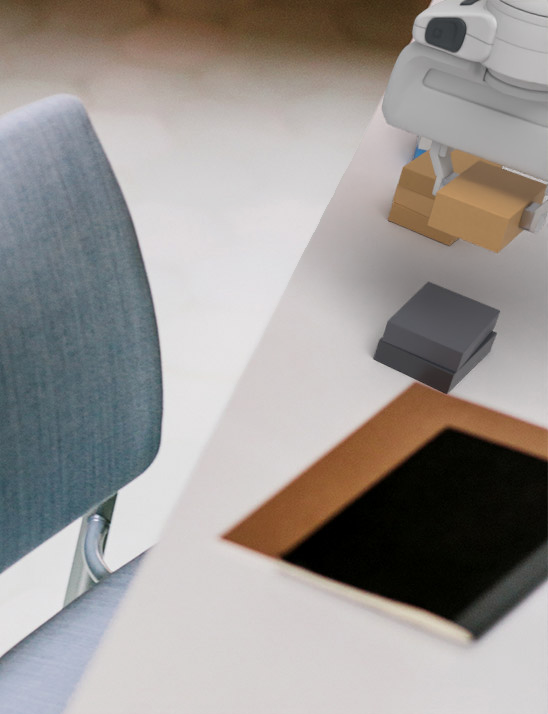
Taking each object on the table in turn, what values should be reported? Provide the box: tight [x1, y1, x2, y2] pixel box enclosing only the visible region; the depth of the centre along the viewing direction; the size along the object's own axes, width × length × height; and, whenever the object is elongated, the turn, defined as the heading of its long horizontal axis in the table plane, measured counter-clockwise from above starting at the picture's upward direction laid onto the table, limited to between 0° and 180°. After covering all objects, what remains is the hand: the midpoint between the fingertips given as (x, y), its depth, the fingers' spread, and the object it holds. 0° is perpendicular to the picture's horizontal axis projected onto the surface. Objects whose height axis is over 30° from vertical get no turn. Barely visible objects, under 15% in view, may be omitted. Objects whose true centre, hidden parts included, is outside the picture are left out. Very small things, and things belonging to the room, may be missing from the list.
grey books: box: [373, 281, 501, 395], centre depth 102 cm, size 7×9×4 cm
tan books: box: [387, 149, 504, 247], centre depth 122 cm, size 7×9×6 cm
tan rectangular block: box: [427, 160, 548, 254], centre depth 94 cm, size 6×8×3 cm
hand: (485, 211), depth 95 cm, fingers closed on tan rectangular block, 6 cm apart
